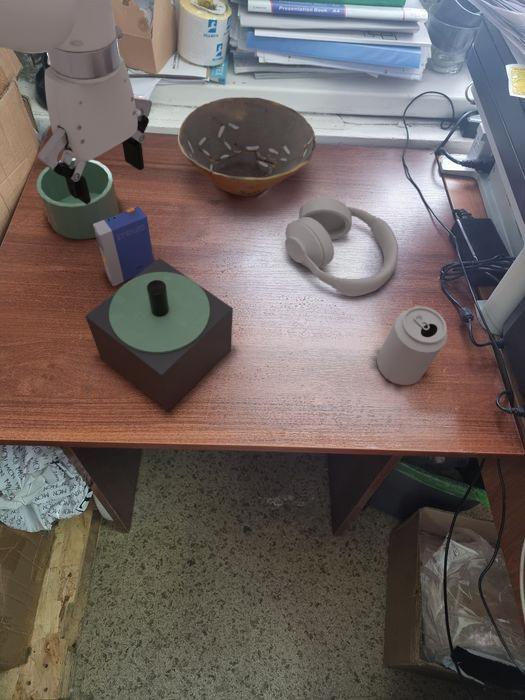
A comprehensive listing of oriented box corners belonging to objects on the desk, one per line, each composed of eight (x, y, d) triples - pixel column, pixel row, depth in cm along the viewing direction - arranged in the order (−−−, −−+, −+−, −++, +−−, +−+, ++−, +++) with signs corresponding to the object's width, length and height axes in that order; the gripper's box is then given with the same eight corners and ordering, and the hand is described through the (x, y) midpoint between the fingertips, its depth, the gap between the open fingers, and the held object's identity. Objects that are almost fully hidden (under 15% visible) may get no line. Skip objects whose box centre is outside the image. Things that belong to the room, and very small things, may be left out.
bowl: (312, 150, 107) (321, 106, 99) (300, 232, 94) (309, 189, 86) (196, 131, 108) (194, 85, 99) (167, 210, 94) (163, 165, 86)
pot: (81, 250, 88) (71, 217, 81) (34, 216, 91) (20, 182, 85) (133, 213, 93) (127, 180, 87) (87, 182, 97) (78, 148, 90)
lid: (161, 372, 64) (157, 350, 59) (88, 315, 67) (79, 290, 63) (230, 308, 70) (231, 283, 65) (159, 259, 73) (155, 233, 69)
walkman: (147, 257, 88) (138, 204, 78) (154, 268, 87) (146, 215, 77) (105, 275, 85) (90, 222, 75) (112, 286, 84) (98, 234, 74)
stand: (168, 413, 73) (161, 375, 63) (100, 358, 76) (84, 315, 67) (231, 350, 79) (233, 308, 70) (165, 303, 83) (159, 257, 74)
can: (400, 396, 77) (428, 355, 67) (365, 362, 80) (387, 318, 70) (432, 370, 80) (463, 327, 70) (397, 339, 83) (422, 293, 73)
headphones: (265, 264, 88) (366, 321, 87) (275, 235, 81) (384, 295, 80) (308, 203, 97) (400, 253, 96) (320, 172, 91) (419, 225, 89)
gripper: (118, 15, 60) (135, 142, 75) (-7, 67, 52) (39, 199, 66) (164, 39, 58) (172, 165, 73) (41, 97, 50) (78, 227, 64)
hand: (109, 181), depth 69 cm, fingers open, 9 cm apart
